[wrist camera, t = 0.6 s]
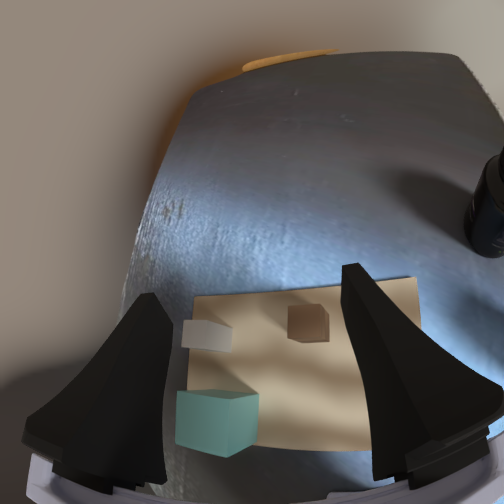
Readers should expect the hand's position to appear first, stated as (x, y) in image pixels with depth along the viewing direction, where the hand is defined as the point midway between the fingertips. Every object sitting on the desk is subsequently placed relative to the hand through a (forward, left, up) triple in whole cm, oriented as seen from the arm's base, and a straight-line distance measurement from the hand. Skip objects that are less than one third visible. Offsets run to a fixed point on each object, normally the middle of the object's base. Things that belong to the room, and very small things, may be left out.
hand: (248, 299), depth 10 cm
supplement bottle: (+9, -19, -18) cm, 28 cm away
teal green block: (-8, +9, -17) cm, 20 cm away
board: (-3, +3, -17) cm, 18 cm away
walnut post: (+1, +1, -17) cm, 17 cm away
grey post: (0, +11, -17) cm, 20 cm away
